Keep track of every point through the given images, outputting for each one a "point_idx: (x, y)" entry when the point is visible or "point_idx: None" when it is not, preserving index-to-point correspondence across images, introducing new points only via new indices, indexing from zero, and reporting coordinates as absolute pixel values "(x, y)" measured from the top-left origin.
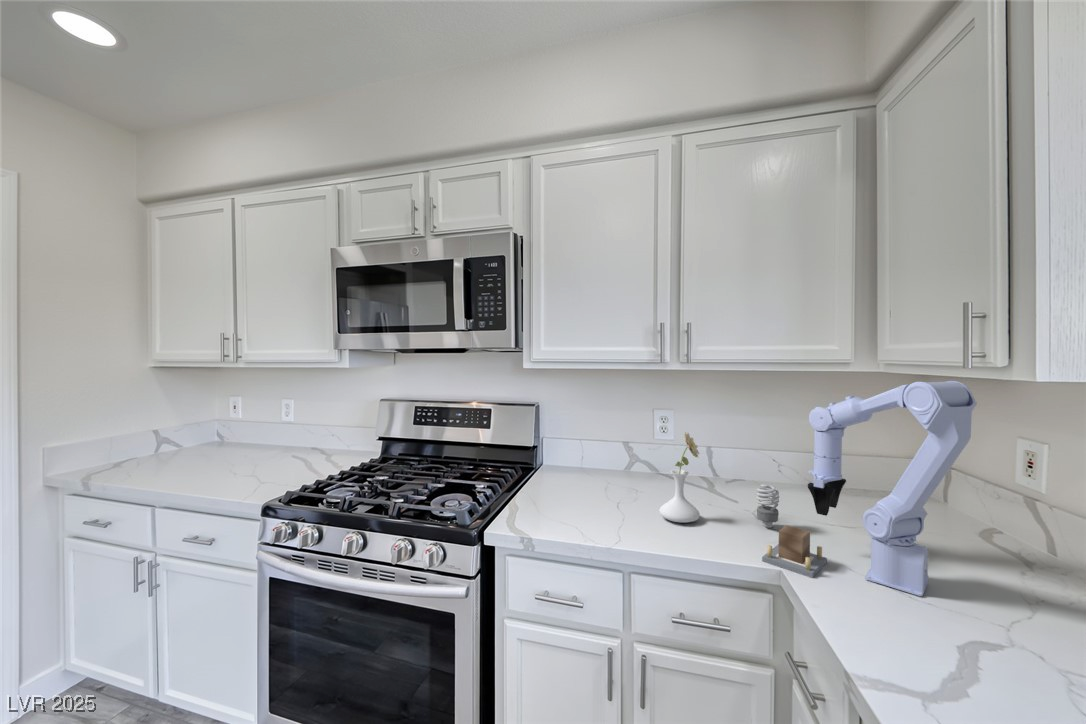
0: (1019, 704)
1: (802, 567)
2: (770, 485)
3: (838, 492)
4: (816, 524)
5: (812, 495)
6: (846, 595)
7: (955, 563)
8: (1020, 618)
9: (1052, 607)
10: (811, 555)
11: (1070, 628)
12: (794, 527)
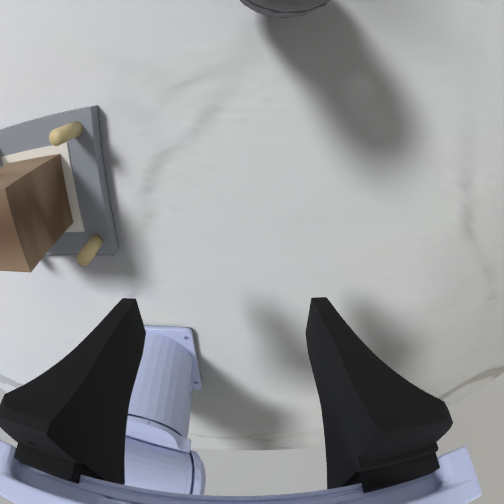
0: None
1: None
2: None
3: (325, 417)
4: (447, 141)
5: (49, 370)
6: (26, 306)
7: None
8: (188, 432)
9: (255, 443)
10: (91, 219)
11: (208, 447)
12: (12, 218)
